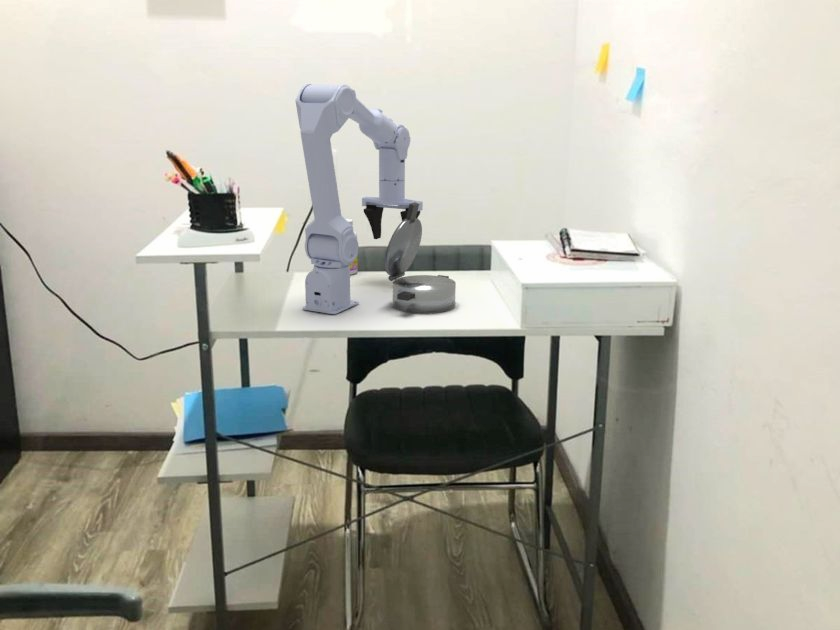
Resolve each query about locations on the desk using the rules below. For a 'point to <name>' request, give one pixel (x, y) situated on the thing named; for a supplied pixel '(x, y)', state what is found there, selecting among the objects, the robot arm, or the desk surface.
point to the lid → (403, 244)
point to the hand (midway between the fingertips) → (391, 240)
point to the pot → (424, 294)
